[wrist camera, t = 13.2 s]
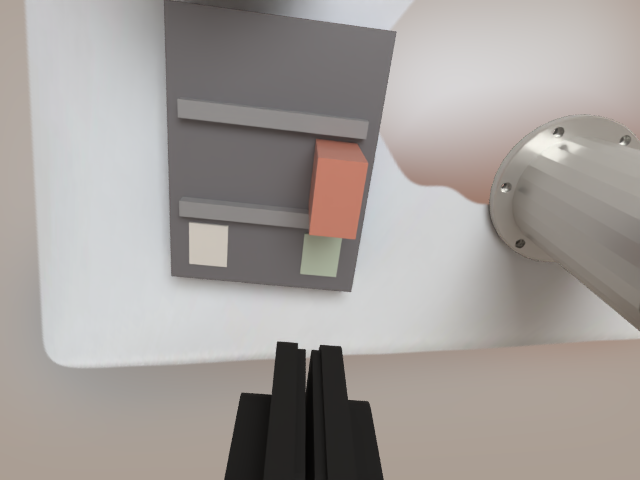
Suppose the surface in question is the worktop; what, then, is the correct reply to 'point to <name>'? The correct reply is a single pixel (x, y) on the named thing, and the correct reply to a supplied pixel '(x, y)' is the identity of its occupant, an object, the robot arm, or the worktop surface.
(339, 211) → the handle
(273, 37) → the breaker panel
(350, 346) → the worktop surface
